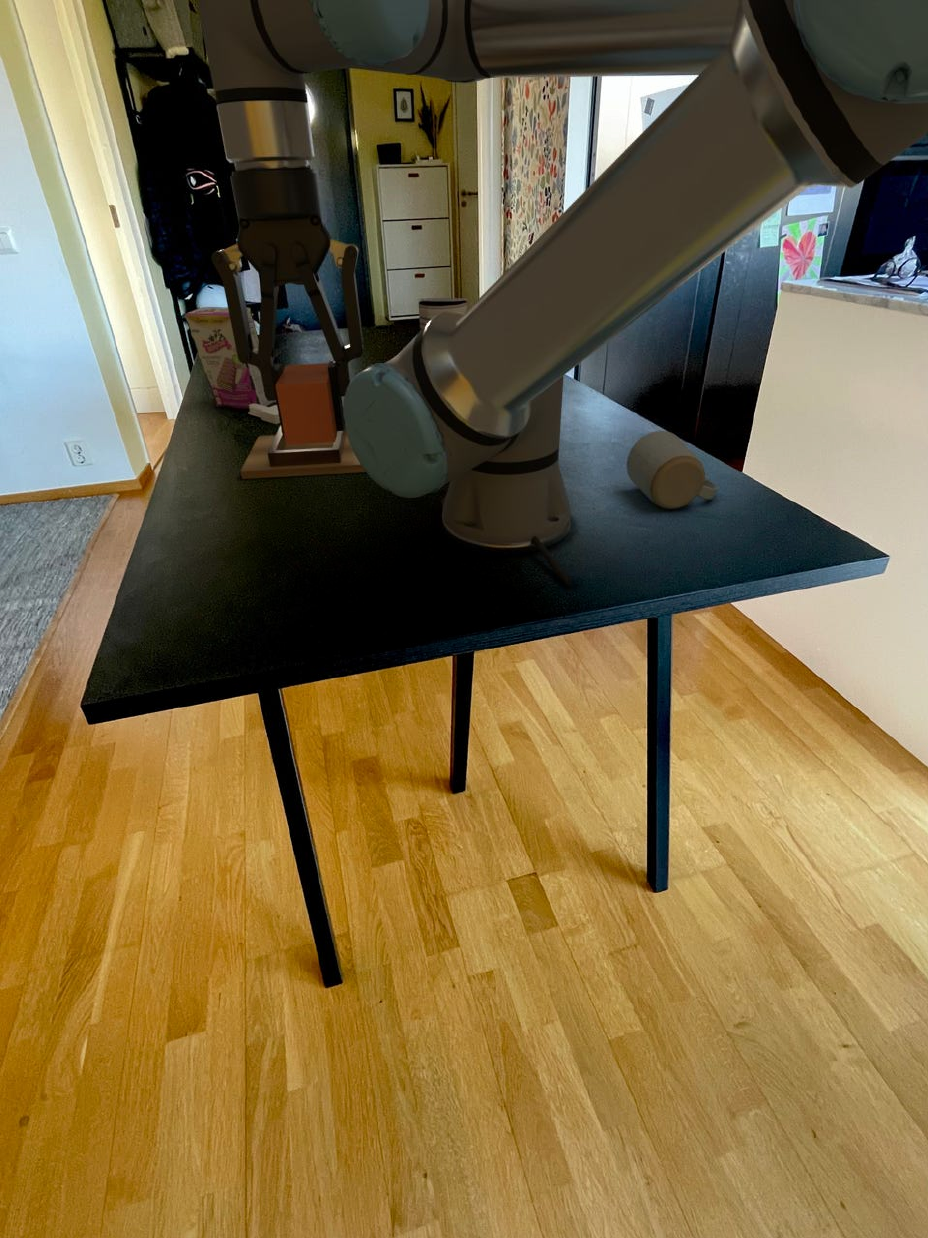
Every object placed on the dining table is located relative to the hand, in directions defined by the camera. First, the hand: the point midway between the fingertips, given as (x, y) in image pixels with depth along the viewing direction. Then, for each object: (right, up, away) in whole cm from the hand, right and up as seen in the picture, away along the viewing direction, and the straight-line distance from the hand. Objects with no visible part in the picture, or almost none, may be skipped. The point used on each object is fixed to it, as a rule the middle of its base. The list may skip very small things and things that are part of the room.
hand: (314, 428), depth 71 cm
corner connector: (-17, +16, +48) cm, 53 cm away
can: (+12, +41, +83) cm, 94 cm away
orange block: (0, 0, 0) cm, 0 cm away
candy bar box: (-24, +19, +51) cm, 60 cm away
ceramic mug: (+43, -5, +14) cm, 45 cm away
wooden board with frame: (-7, +4, +29) cm, 30 cm away
